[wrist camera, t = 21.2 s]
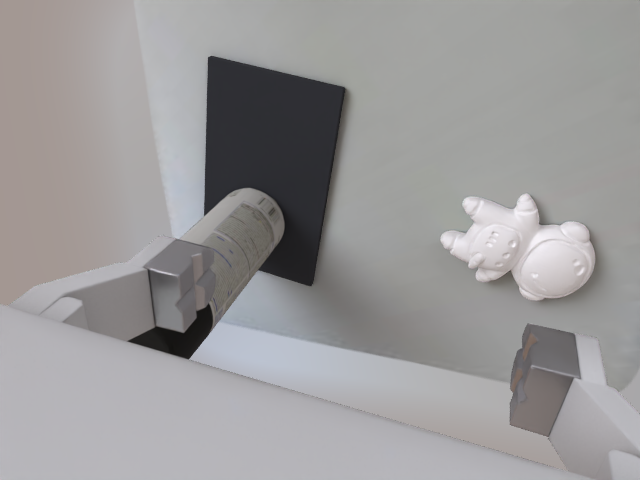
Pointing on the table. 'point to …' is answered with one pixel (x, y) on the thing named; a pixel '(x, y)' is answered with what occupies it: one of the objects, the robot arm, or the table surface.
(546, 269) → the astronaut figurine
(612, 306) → the table surface
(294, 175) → the mat
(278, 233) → the spray can
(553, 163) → the table surface
